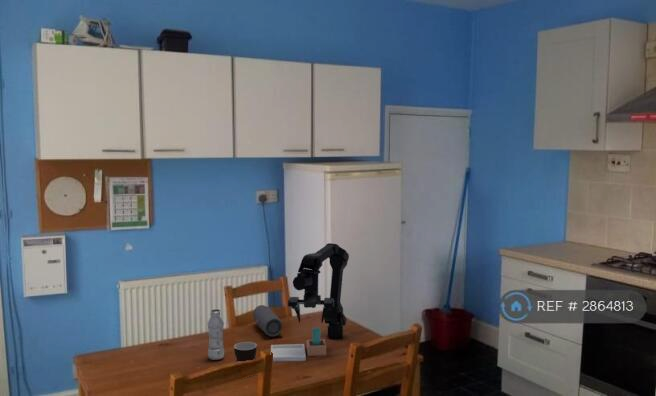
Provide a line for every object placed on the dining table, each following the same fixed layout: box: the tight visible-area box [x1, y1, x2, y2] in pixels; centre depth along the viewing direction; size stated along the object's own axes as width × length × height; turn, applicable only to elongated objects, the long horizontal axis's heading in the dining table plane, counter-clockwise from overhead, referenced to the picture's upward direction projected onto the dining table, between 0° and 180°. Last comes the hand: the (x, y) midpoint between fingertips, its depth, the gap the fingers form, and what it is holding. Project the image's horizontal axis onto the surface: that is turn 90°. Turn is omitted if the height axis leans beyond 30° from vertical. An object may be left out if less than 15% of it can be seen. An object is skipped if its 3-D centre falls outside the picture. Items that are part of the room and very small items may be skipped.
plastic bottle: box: [207, 308, 225, 361], centre depth 219 cm, size 6×7×20 cm
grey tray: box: [270, 343, 307, 363], centre depth 224 cm, size 14×14×2 cm
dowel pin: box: [311, 327, 322, 346], centre depth 227 cm, size 3×3×10 cm
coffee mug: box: [233, 341, 258, 363], centre depth 209 cm, size 12×9×10 cm
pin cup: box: [306, 339, 327, 357], centre depth 227 cm, size 8×8×4 cm
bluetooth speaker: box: [252, 304, 283, 337], centre depth 253 cm, size 23×9×10 cm, turn 21°
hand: (310, 322), depth 225 cm, fingers open, 9 cm apart
